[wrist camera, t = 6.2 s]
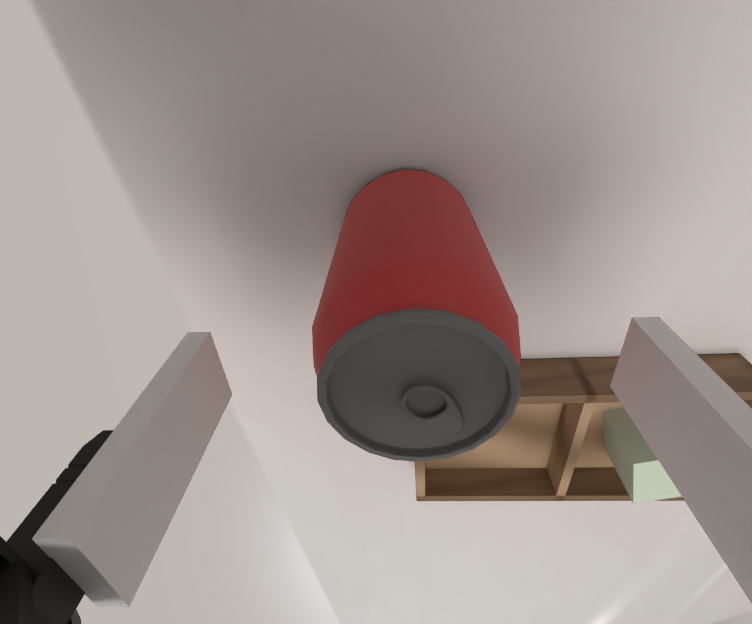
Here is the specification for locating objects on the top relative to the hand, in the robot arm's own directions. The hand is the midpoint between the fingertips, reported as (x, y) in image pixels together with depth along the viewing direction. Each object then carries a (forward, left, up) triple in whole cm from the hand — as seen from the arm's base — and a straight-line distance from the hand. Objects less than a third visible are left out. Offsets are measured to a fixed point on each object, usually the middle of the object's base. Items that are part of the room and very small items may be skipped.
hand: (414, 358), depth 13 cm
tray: (+14, +10, -10) cm, 19 cm away
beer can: (0, 0, -10) cm, 10 cm away
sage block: (+14, +15, -9) cm, 22 cm away
